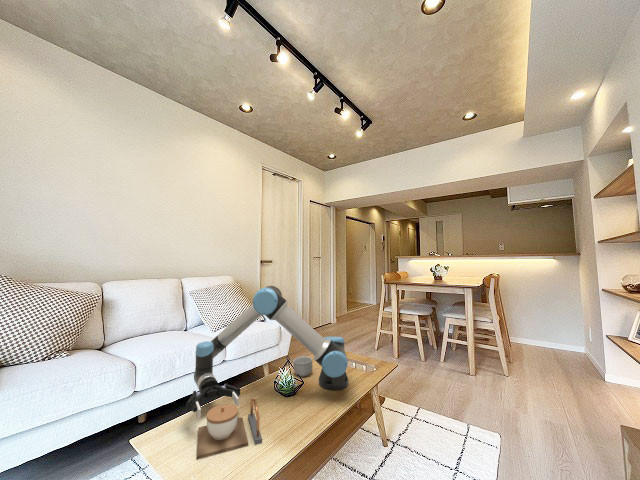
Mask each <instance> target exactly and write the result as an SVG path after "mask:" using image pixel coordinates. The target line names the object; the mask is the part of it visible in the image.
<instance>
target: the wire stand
mask: <svg viewBox="0 0 640 480" xmlns="http://www.w3.org/2000/svg"><path fill="white" fill-rule="evenodd" d="M247 420H248V423H249V426H250V430H251V434H252V439H253V442H254V445H255V446H256V445H259V444H262V443H263V436H262V433H261V430H260V429H259V436H258V437H257V436H256V429H257V416H256V413H254V412H253V415H251V414H250V413H249V414H247Z"/></svg>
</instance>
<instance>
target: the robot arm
mask: <svg viewBox="0 0 640 480" xmlns="http://www.w3.org/2000/svg"><path fill="white" fill-rule="evenodd" d="M261 316H265V317H266V318H267V319H269V320H270V321H275V322H277V323H278V324H279V325H280V326H282V328H283V329H285V330H286V331H287V332H288V333H289V334H290V335H291V336H292V337H293V338H295V339H296V341H298V342H299V343H300V344H301V345H302V346H303V347H305V348H306V350H308V351H309V352H310V353H312V355H313V360H314V361H315V362H316V363H317V364H318V365H319V366H321V371H320V374H319V377H318V385H319V386H320V387H321V388H323V389H325V390H330V391H338V390H343V389H345V388H347V387H348V386H349V378H348V374H347V369H348V361H349V360H348V357H347V354H346V350H345V344H346V342H345V339H344V338H343V337H342V336H324V337H323V335H321V334H319V332H317V330H315V328H313V327H312V326H311V325H310V324H308V322H306V321H305V320H304V319H303V318H302V317H300V315H298V314H297V313H296V312H295V311H294V310H293V309H292V308H291V307H290V306H289V305H288V301H287V299H285V298H284V297H283V293H282V291H281V289H280V288H278V287H277V286H274V285H268V286H265V287H262V288H260V289H259V290H258V291H256V293H254V296H253V297H252V304H251V305H249V307H247V308H246V309H245V310H243V312H242V313H241V314H240V315H239V316H237V317H236V318H235V319H234V320H232V321H231V322H230V323H229V325H227V326H226V327H225V328H224V329H223V330H222V331H220V333H219V334H217V335H216V336H215V337H214V338H213V339H212V340H211V341H201V342H199V343H197V344H196V347H195V368H194V369H195V371H194V372H193V379H194V380H193V381H194V382H195V384H196V386H197V388H198V391H196V390H193V391H192V394H191V396H190V397H189V399H188V400H187V401H186V411H189V410H190V409H191V412H192V413H196V415H197V417H198V419H199V418H201V417H202V408H201V406H200V405H201V404H202V403H203V402H205V401H206V400H207V399H210V398H213V397H219V398H221V397H228V398H231V400H232V401H233V403H234V405H235V406H236V407H238V406H239V405H240V404H239V403H240V396H241V388H239V387H236V386H234V385H231V384H228V383H227V382H225V383H223V384H224V385H220V384H219V382H218V380H217V378H216V377H215V375H214V374H213V372H214V371H213V370H214V369H213V366H214V359H215V357H217V355H219V354H220V353H221V352H222V351H224V350H225V348H226V347H228V346H229V345H230V344H231V343H232V342H233V341H235V340H236V339H237V338H238V337H239V336H240V335H241V334H242V333H244V331H246V330H247V329H248V328H249V327H250V326H251V325H253V324H254V323H255V322H256V321H257V320H259V318H260V317H261ZM347 385H348V386H347ZM346 386H347V387H346Z"/></svg>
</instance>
